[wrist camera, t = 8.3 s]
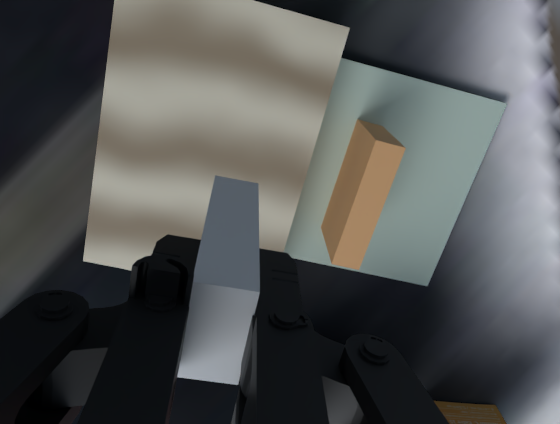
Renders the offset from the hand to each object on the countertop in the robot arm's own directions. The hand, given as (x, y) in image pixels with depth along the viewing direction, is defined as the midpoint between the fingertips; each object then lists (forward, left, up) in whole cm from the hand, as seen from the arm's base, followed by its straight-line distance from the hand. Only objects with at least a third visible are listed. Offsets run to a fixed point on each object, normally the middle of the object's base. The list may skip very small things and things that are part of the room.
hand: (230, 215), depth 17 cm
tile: (+3, +8, -16) cm, 19 cm away
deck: (+3, -2, -20) cm, 20 cm away
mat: (+3, +12, -20) cm, 24 cm away
